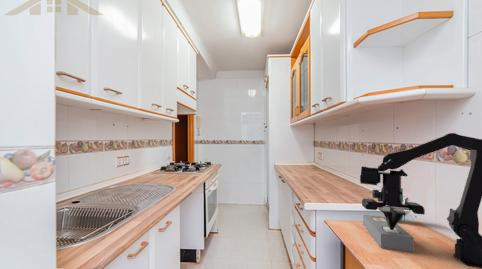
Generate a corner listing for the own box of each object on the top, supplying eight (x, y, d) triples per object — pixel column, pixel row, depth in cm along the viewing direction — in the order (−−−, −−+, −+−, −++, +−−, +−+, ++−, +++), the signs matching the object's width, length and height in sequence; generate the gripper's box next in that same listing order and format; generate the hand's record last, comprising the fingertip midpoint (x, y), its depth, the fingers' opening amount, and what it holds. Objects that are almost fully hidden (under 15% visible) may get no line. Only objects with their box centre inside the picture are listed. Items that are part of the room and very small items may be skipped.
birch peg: (383, 229, 96) (383, 218, 96) (386, 233, 92) (386, 221, 92) (372, 228, 97) (372, 217, 97) (375, 232, 93) (375, 220, 93)
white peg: (394, 240, 84) (395, 228, 84) (399, 245, 80) (399, 232, 80) (383, 239, 85) (383, 226, 85) (387, 244, 81) (387, 230, 81)
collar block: (388, 228, 98) (388, 216, 98) (413, 252, 76) (413, 237, 77) (363, 225, 100) (363, 214, 100) (380, 247, 79) (380, 233, 79)
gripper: (409, 184, 89) (409, 224, 88) (358, 181, 93) (357, 219, 93) (425, 190, 78) (425, 236, 77) (366, 186, 82) (365, 229, 82)
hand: (391, 229), depth 83 cm, fingers closed, pressing on white peg
